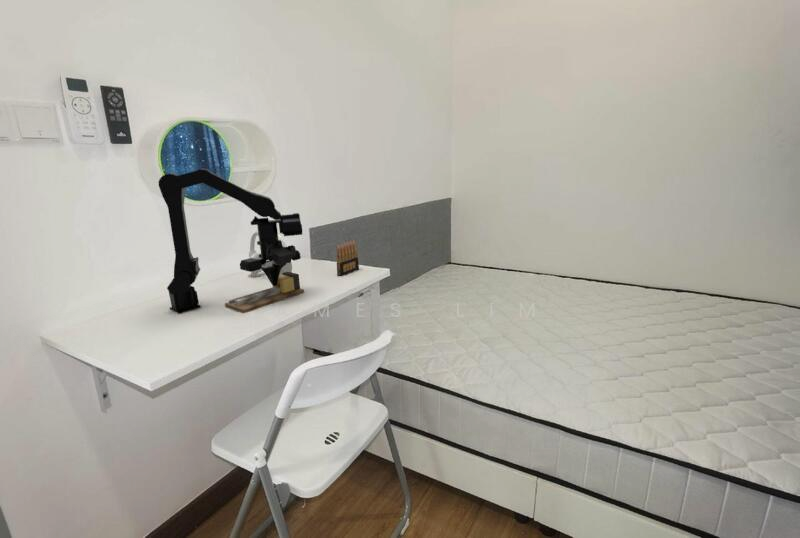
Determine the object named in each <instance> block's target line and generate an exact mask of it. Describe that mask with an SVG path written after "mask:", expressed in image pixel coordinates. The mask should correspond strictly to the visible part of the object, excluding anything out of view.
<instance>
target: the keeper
mask: <svg viewBox="0 0 800 538" xmlns="http://www.w3.org/2000/svg"><path fill="white" fill-rule="evenodd" d="M279 286H280V287H281V292H283V293H286V292H289V291H292V290H295V289H294V280H293V277H290V276H286V275H279V277H278V281H277V285H276V286H273V285H272V287H273V288H276V287H279Z"/></svg>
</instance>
